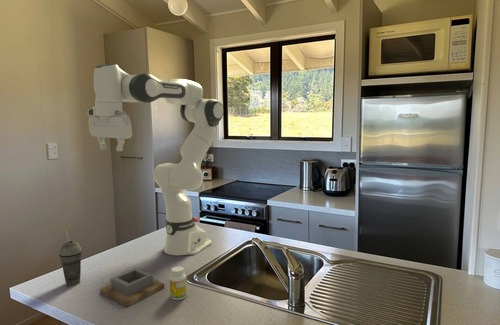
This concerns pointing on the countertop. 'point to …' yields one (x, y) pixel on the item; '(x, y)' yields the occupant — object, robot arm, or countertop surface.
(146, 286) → the collar socket
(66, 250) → the beverage cup
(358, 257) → the countertop surface
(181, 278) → the supplement bottle
